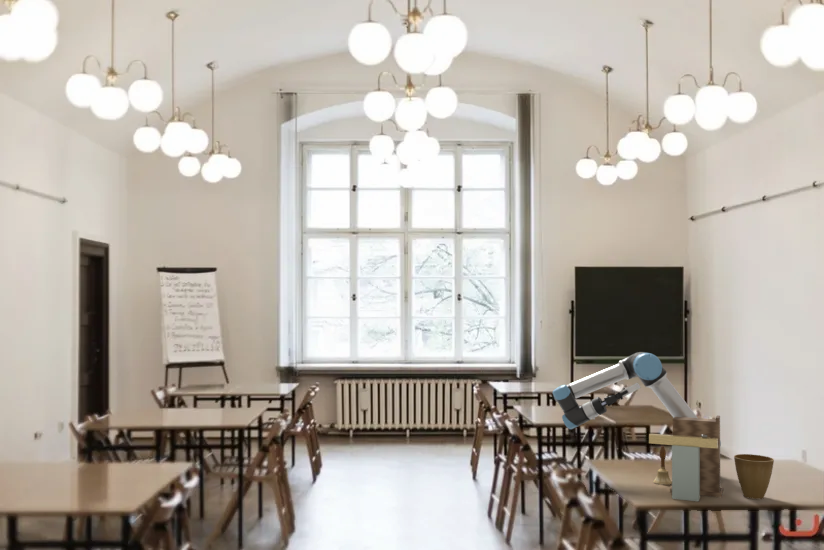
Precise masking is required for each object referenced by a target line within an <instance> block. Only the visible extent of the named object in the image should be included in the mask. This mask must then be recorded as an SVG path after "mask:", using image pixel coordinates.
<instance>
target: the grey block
mask: <svg viewBox="0 0 824 550" xmlns="http://www.w3.org/2000/svg"><path fill="white" fill-rule="evenodd" d="M671 481H672V484H671V486H672V493H671V499H672V500H679V501H680V500H681V501H691V502H699V501H700V498H701V495H700V447H691V446H678V445H671Z"/></svg>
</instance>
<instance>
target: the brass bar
mask: <svg viewBox="0 0 824 550" xmlns="http://www.w3.org/2000/svg"><path fill="white" fill-rule="evenodd" d="M648 444H653V445H654V444H655V445H668V446H672V445H678V446H691V447H704V448H718V438H707V435H704V434H702V435H701V437H693V436H678V435H673V434H662V433H649V434H648Z"/></svg>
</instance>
